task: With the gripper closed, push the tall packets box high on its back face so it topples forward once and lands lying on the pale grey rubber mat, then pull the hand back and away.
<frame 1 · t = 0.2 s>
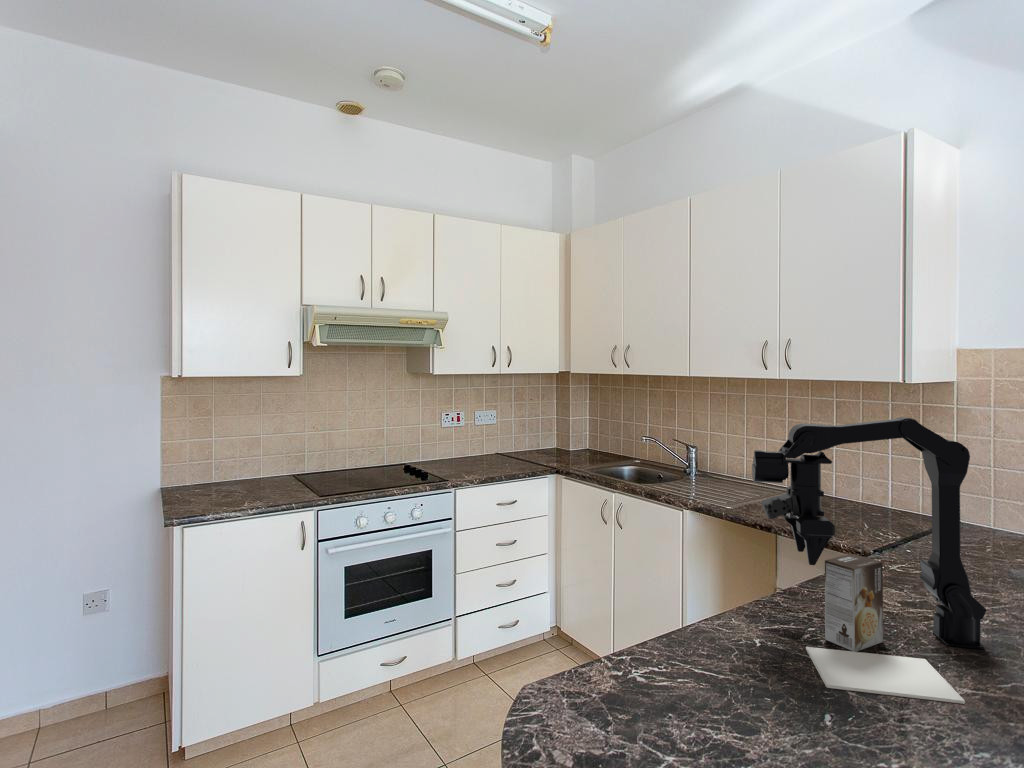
hand: (806, 557, 121), 14 cm above the counter, fingers open, 9 cm apart
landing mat: (878, 674, 101), on the counter
coffee box: (853, 642, 114), on the counter
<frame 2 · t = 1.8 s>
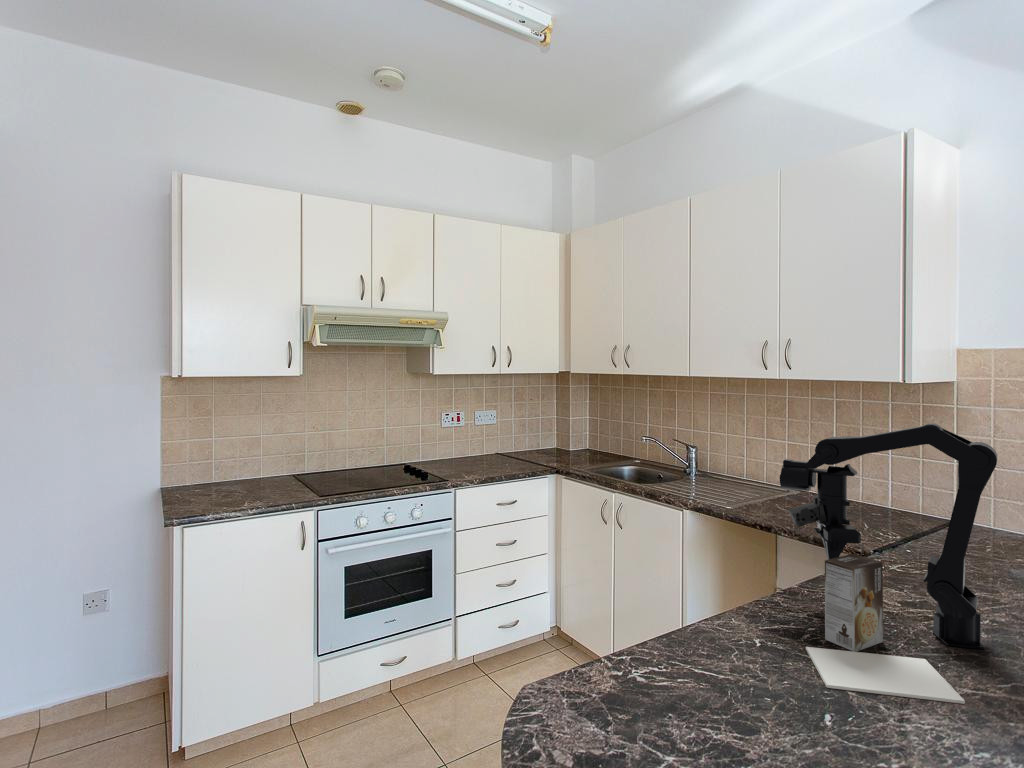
hand: (831, 563, 128), 11 cm above the counter, fingers closed
nothing on the counter moved.
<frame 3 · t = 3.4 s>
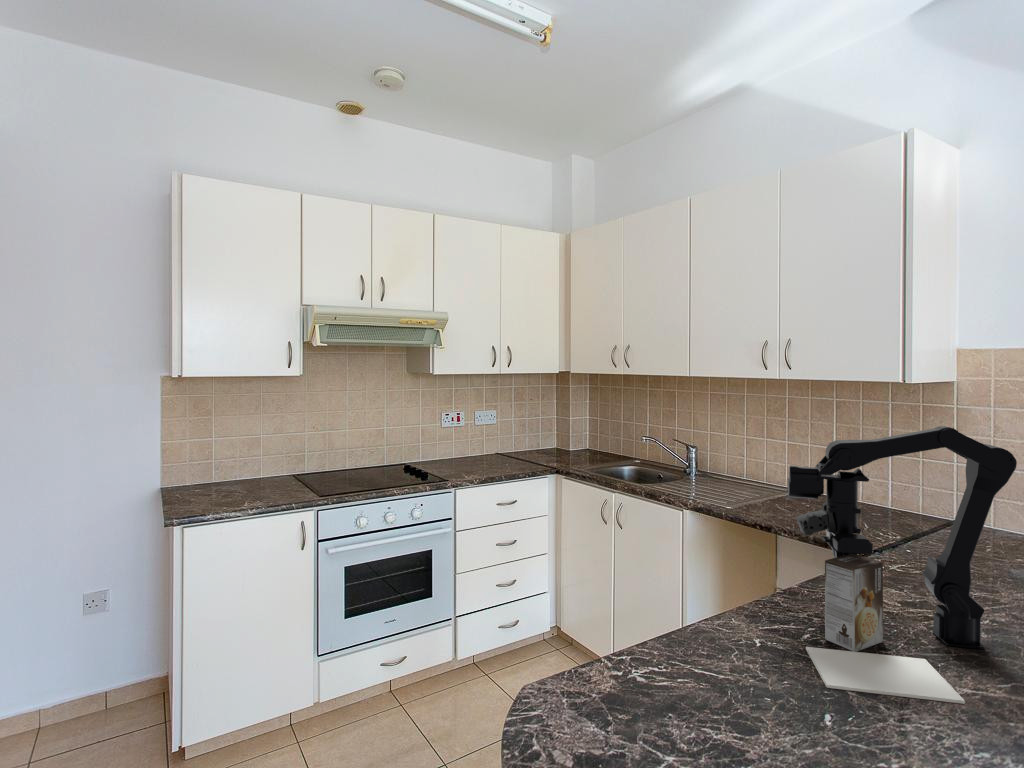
hand: (841, 574, 121), 11 cm above the counter, fingers closed
coffee box: (853, 642, 114), on the counter, touching gripper
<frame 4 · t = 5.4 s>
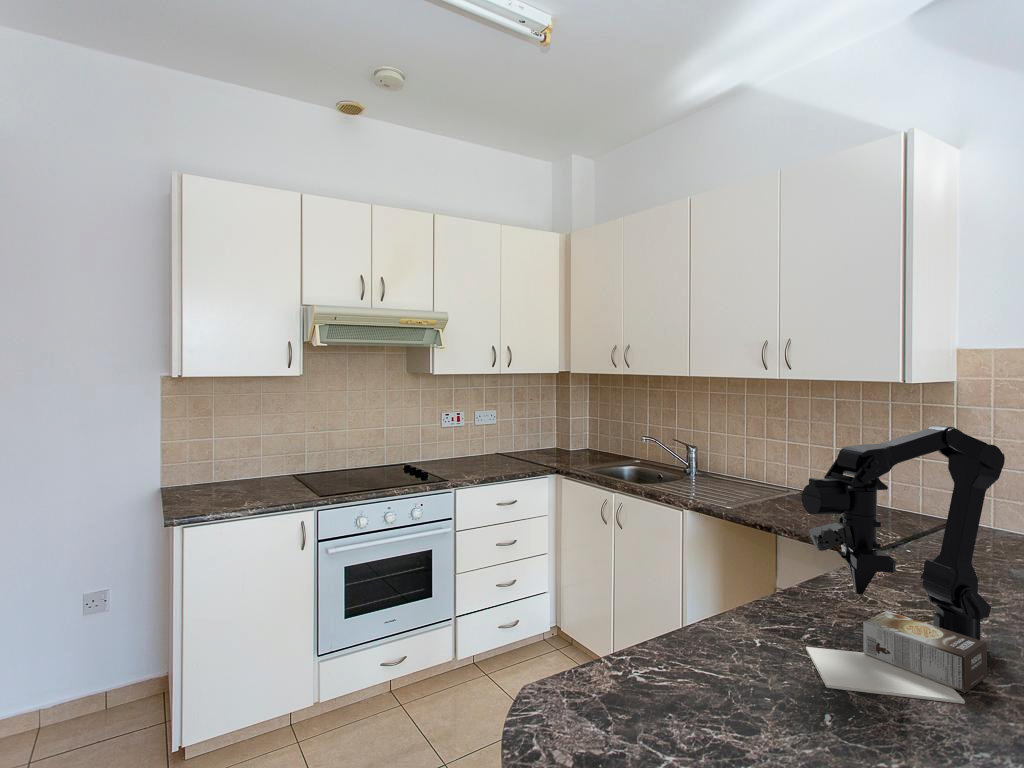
hand: (858, 593, 111), 11 cm above the counter, fingers closed
coffee box: (873, 631, 110), point 4 cm above the counter, touching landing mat
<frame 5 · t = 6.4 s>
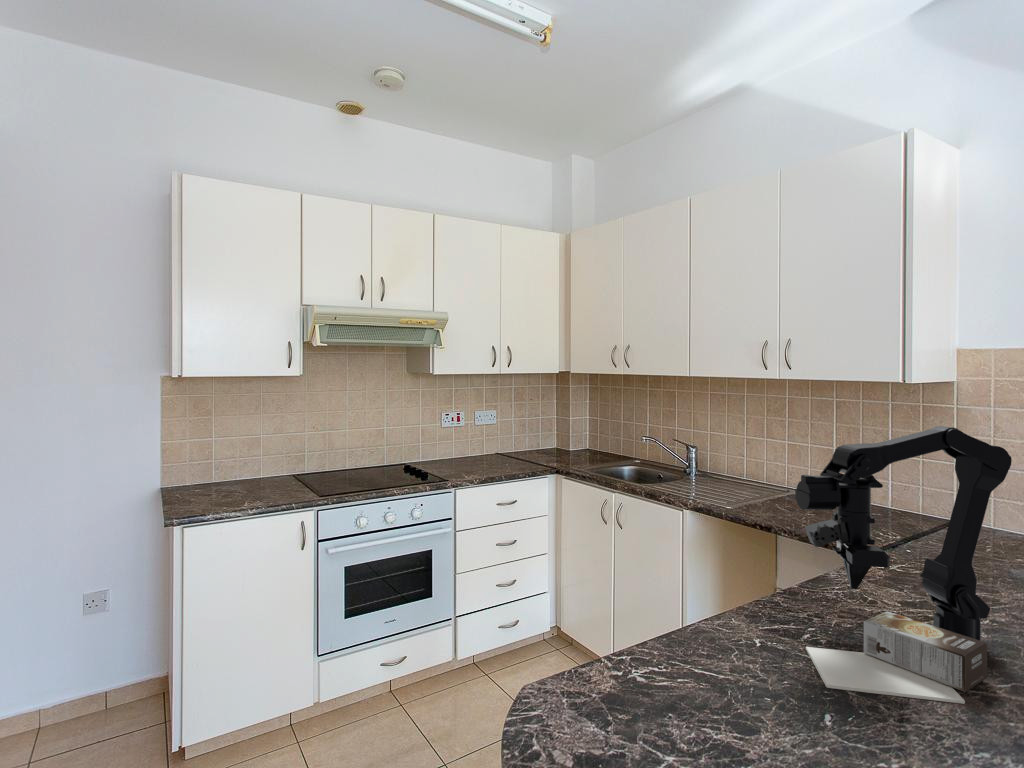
hand: (853, 588, 114), 10 cm above the counter, fingers closed
nothing on the counter moved.
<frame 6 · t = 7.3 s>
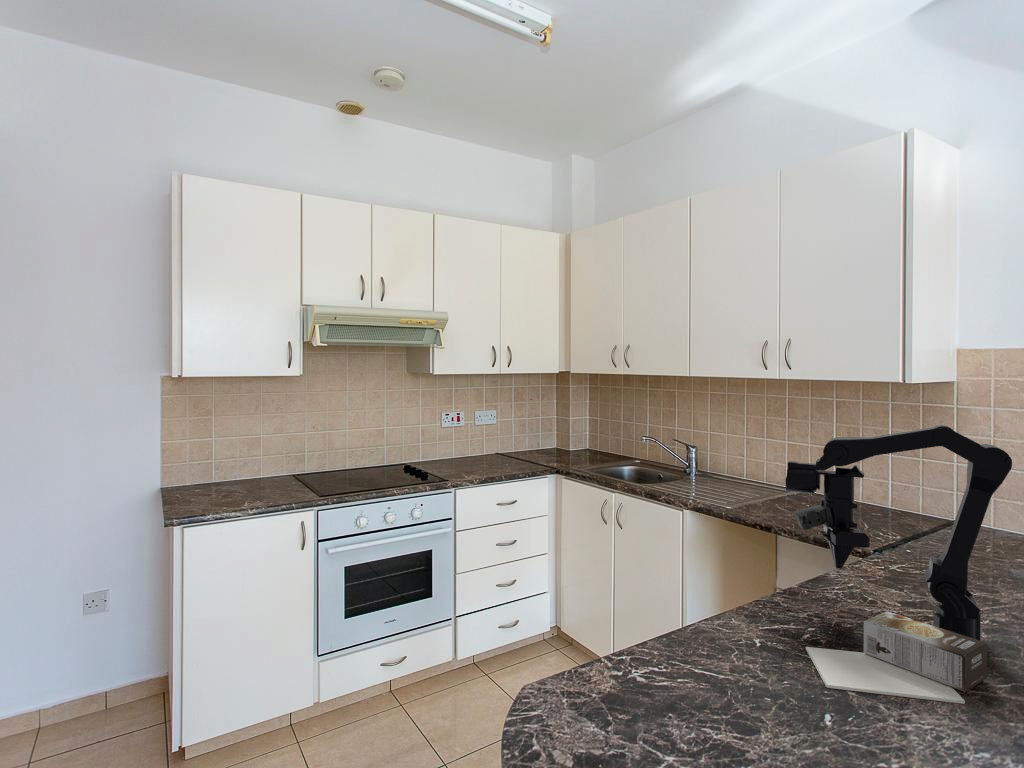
hand: (838, 568, 125), 11 cm above the counter, fingers closed
nothing on the counter moved.
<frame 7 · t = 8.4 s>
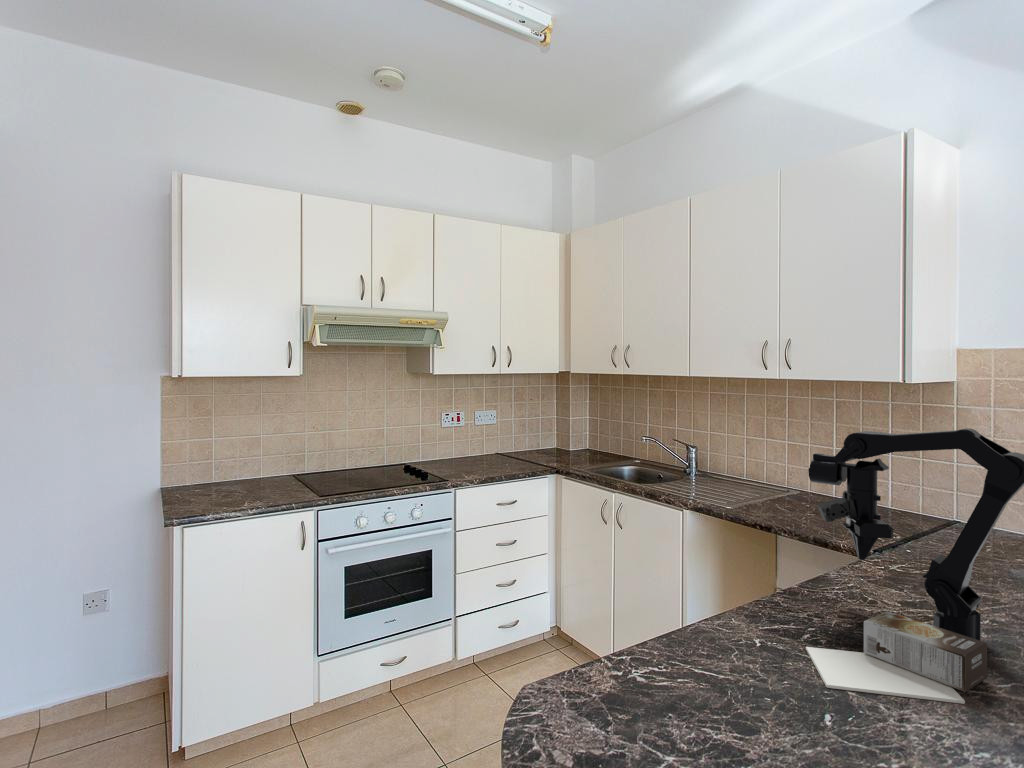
hand: (861, 559, 127), 12 cm above the counter, fingers closed
nothing on the counter moved.
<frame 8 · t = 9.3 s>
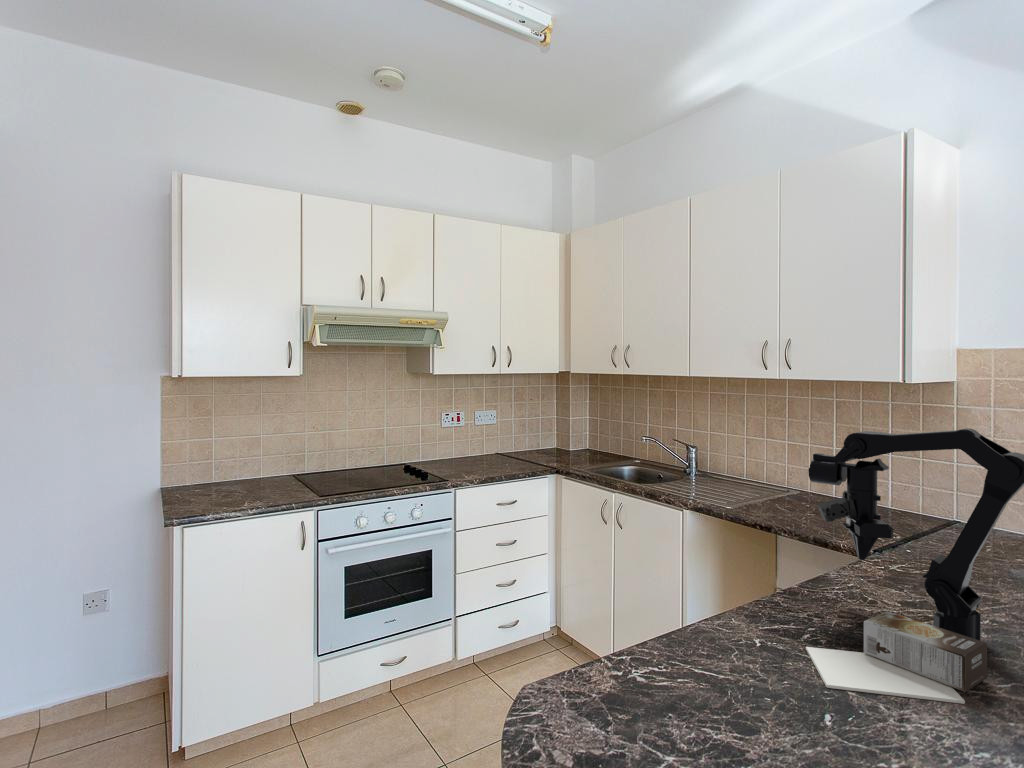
hand: (861, 559, 127), 12 cm above the counter, fingers closed
nothing on the counter moved.
at the end: coffee box tilted 90°; coffee box touching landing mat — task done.
